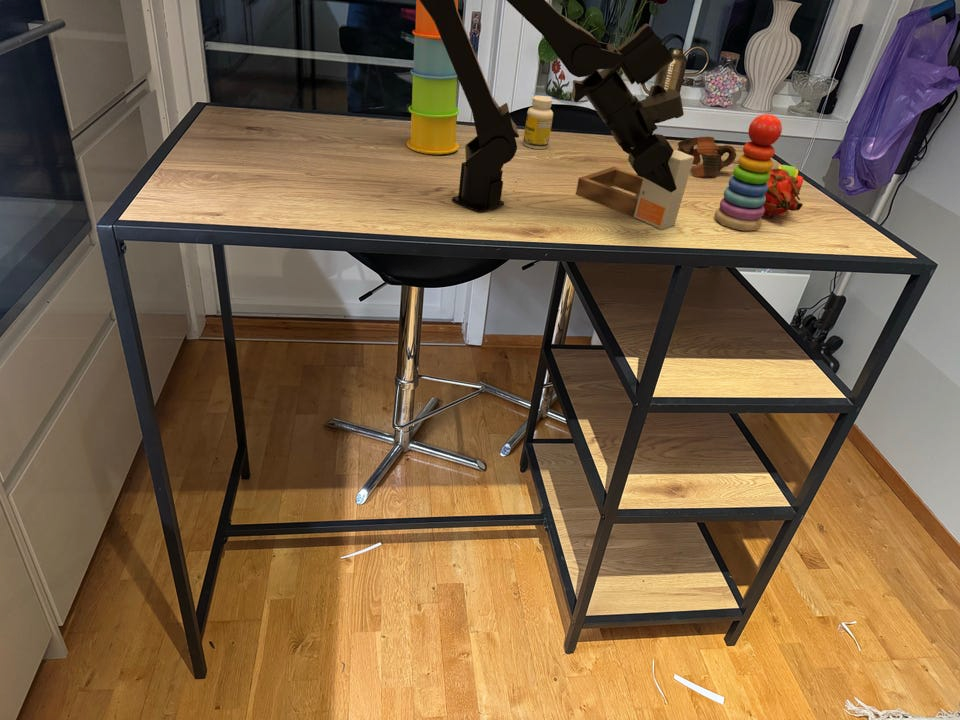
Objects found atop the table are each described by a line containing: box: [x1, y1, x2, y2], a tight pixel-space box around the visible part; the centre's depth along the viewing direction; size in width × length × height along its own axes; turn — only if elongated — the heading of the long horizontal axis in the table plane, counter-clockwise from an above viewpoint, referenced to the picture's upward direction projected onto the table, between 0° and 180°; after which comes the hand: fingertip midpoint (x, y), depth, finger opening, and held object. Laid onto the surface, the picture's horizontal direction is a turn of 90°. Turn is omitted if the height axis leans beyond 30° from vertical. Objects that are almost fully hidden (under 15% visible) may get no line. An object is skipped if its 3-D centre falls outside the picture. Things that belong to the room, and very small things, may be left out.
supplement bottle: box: [522, 95, 554, 150], centre depth 147 cm, size 5×5×10 cm
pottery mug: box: [677, 136, 737, 178], centre depth 147 cm, size 12×10×8 cm
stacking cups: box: [406, 0, 460, 155], centre depth 131 cm, size 10×10×35 cm
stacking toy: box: [714, 113, 783, 232], centre depth 119 cm, size 8×8×19 cm
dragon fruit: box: [762, 168, 803, 219], centre depth 129 cm, size 8×8×12 cm
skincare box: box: [633, 148, 694, 230], centre depth 117 cm, size 6×4×12 cm
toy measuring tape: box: [776, 164, 804, 193], centre depth 140 cm, size 6×19×7 cm, turn 158°
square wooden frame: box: [575, 166, 643, 217], centre depth 130 cm, size 12×20×3 cm, turn 139°
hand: (666, 180), depth 117 cm, fingers open, 9 cm apart
